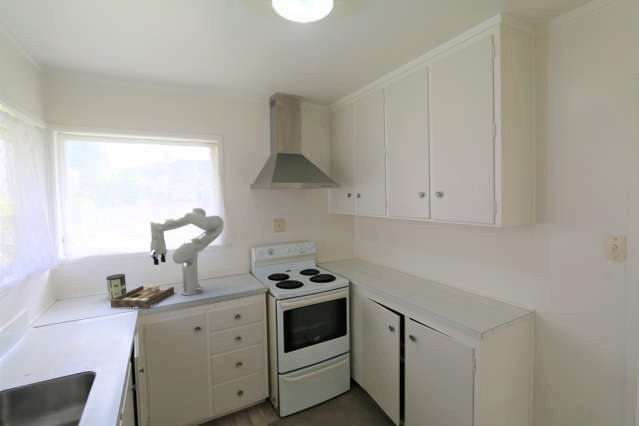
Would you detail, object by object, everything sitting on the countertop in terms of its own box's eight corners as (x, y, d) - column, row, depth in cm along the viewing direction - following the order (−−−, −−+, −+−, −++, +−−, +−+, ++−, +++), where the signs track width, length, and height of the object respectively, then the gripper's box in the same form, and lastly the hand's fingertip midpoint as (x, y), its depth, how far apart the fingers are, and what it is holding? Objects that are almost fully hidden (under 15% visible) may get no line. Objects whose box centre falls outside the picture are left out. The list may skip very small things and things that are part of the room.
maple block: (159, 290, 197) (159, 285, 197) (154, 293, 192) (153, 287, 192) (153, 290, 198) (152, 284, 198) (147, 293, 193) (147, 287, 193)
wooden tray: (174, 293, 198) (173, 286, 197) (146, 308, 173) (146, 301, 172) (142, 292, 201) (141, 285, 201) (111, 307, 177) (110, 300, 176)
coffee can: (122, 292, 201) (120, 273, 200) (129, 295, 196) (128, 275, 194) (105, 297, 193) (103, 277, 191) (112, 300, 187) (110, 279, 186)
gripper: (161, 235, 209) (163, 260, 211) (143, 240, 192) (145, 266, 194) (171, 235, 208) (172, 260, 210) (153, 240, 191) (156, 267, 193)
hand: (159, 263), depth 202 cm, fingers open, 6 cm apart
